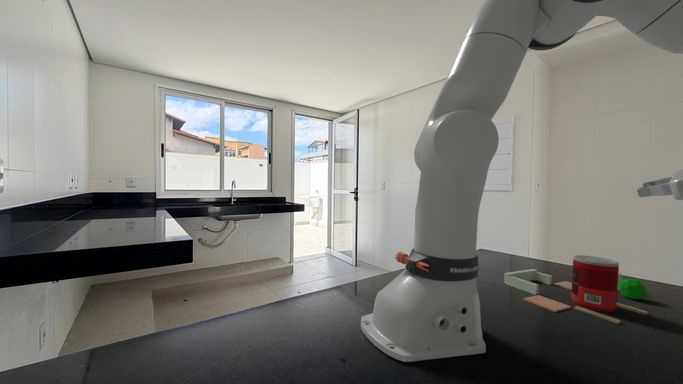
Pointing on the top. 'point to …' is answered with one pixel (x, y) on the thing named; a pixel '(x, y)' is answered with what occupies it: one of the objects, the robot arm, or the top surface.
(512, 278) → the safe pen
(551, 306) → the tiles
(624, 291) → the polyhedron
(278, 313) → the top surface
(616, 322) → the lane kerbs
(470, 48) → the robot arm
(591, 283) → the canned food
